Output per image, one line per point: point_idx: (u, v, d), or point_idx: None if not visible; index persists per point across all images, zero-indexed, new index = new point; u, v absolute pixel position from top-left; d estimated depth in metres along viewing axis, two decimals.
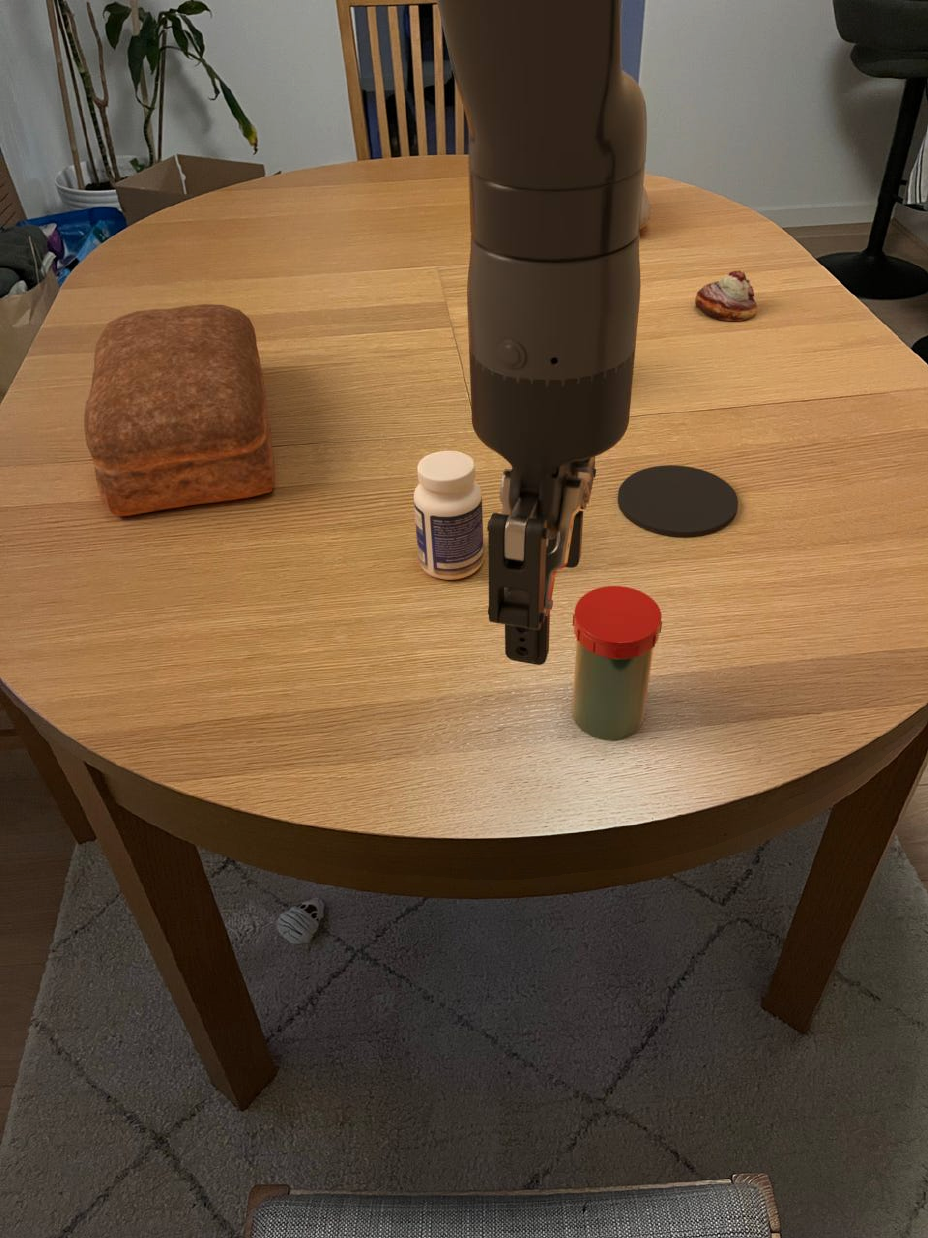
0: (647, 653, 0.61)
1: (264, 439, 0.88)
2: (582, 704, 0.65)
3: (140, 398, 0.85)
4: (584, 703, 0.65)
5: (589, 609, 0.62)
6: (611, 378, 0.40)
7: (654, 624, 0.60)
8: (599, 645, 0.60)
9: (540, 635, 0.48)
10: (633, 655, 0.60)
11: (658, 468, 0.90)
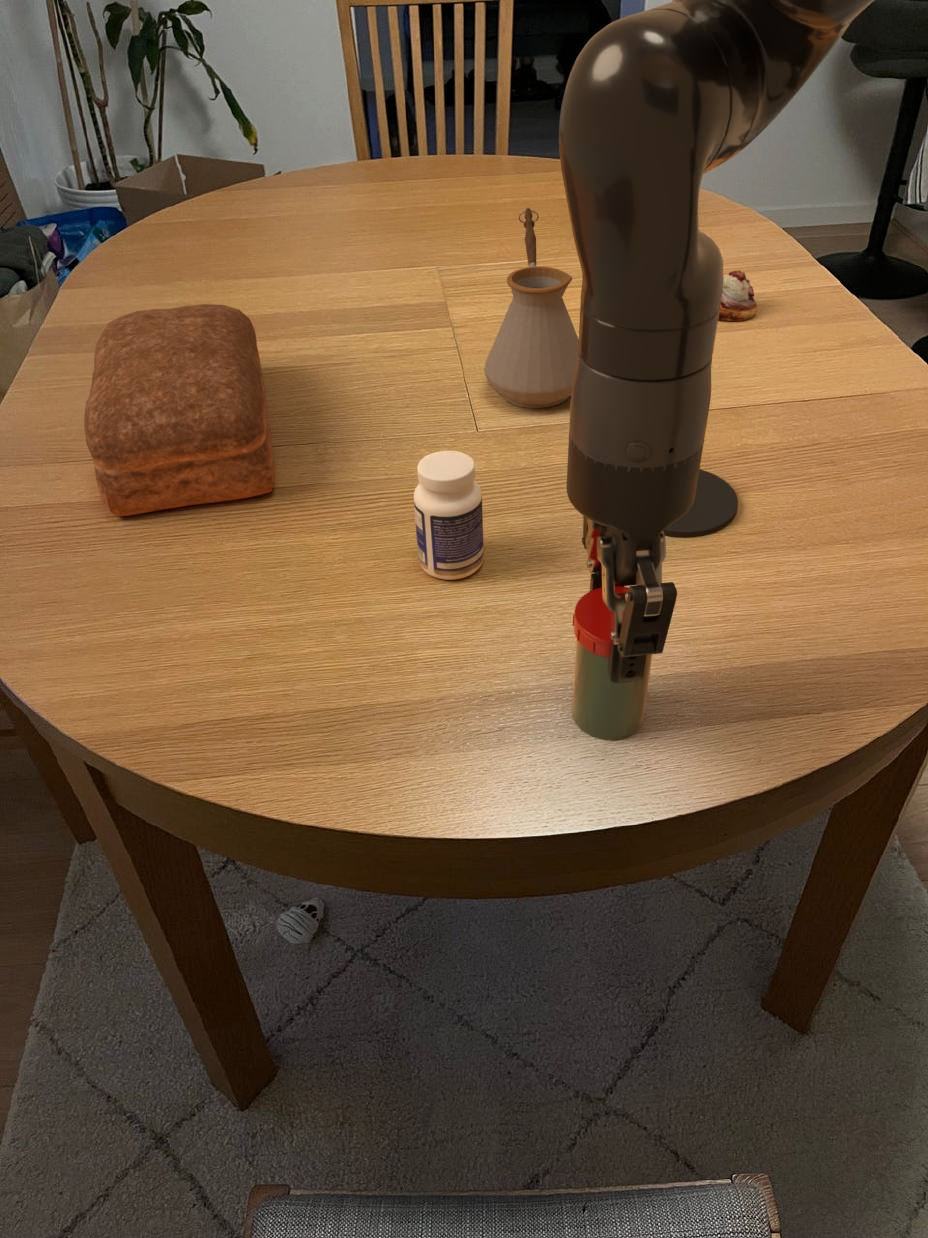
0: None
1: (264, 439, 0.88)
2: (582, 704, 0.65)
3: (140, 398, 0.85)
4: (584, 703, 0.65)
5: (589, 609, 0.62)
6: (700, 453, 0.51)
7: None
8: (599, 645, 0.60)
9: None
10: None
11: None
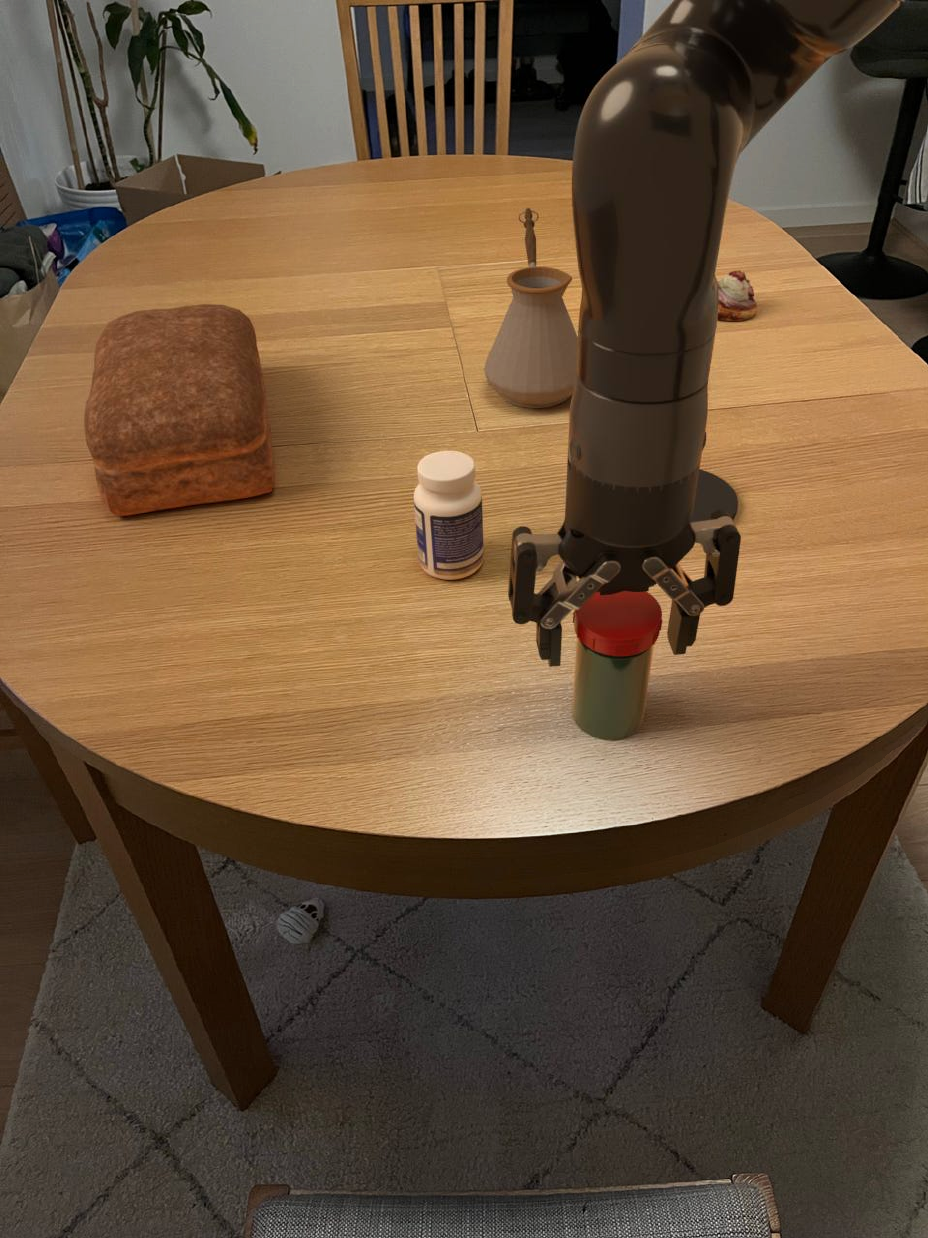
0: (647, 653, 0.61)
1: (264, 439, 0.88)
2: (582, 704, 0.65)
3: (140, 398, 0.85)
4: (584, 703, 0.65)
5: (614, 629, 0.60)
6: None
7: None
8: (657, 631, 0.60)
9: None
10: None
11: None
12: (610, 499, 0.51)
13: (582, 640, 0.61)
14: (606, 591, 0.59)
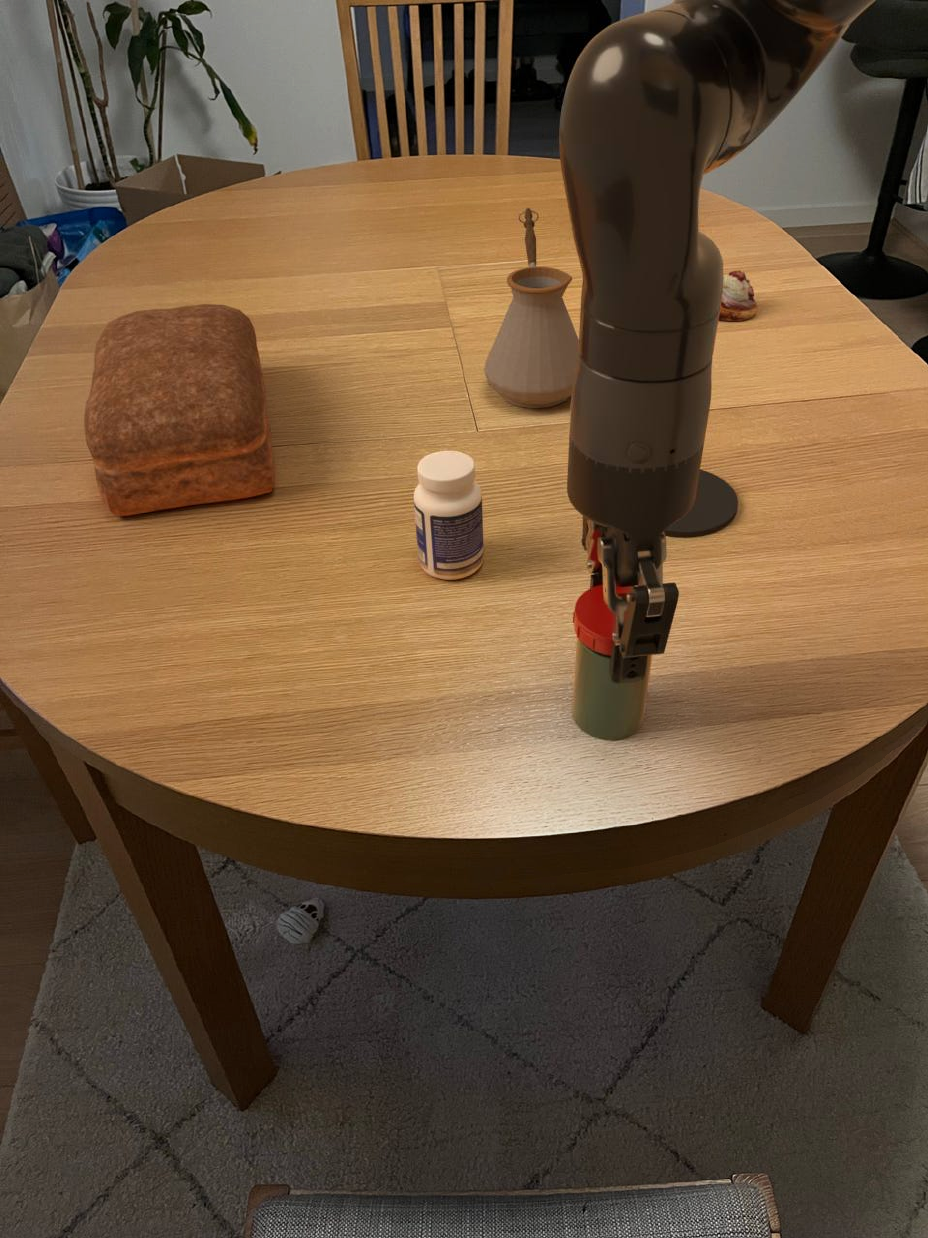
0: None
1: (264, 439, 0.88)
2: (582, 704, 0.65)
3: (140, 398, 0.85)
4: (584, 703, 0.65)
5: None
6: (700, 453, 0.51)
7: None
8: None
9: None
10: None
11: None
12: None
13: (582, 640, 0.61)
14: None
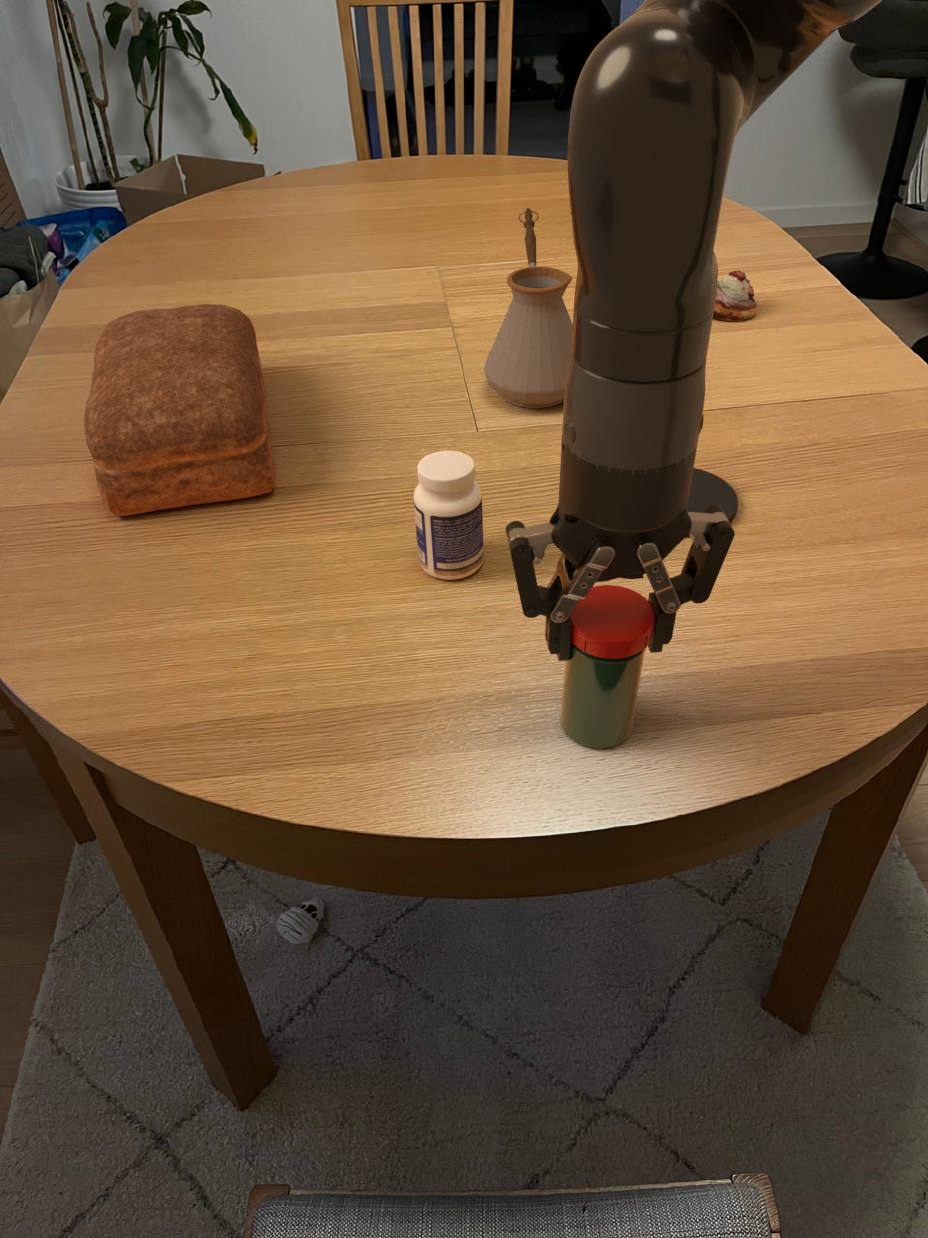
0: (642, 654, 0.61)
1: (264, 439, 0.88)
2: (576, 714, 0.64)
3: (140, 398, 0.85)
4: (579, 713, 0.63)
5: (639, 616, 0.60)
6: None
7: None
8: None
9: None
10: None
11: None
12: (605, 482, 0.50)
13: (635, 652, 0.60)
14: (600, 578, 0.57)
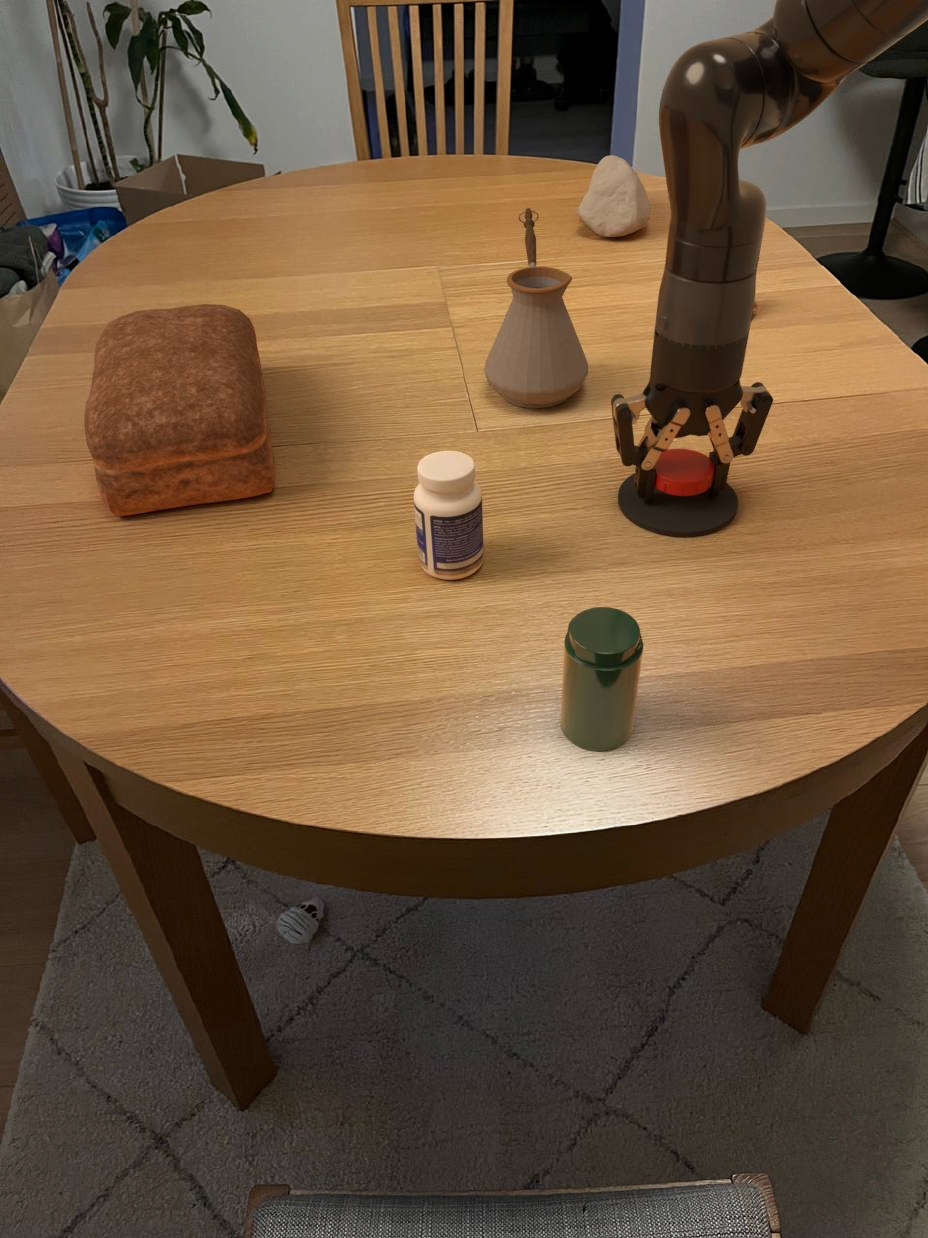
0: (639, 659, 0.61)
1: (264, 439, 0.88)
2: (576, 719, 0.64)
3: (140, 398, 0.85)
4: (578, 718, 0.64)
5: (703, 467, 0.84)
6: None
7: None
8: None
9: None
10: None
11: None
12: (688, 355, 0.74)
13: (701, 491, 0.83)
14: (677, 435, 0.81)
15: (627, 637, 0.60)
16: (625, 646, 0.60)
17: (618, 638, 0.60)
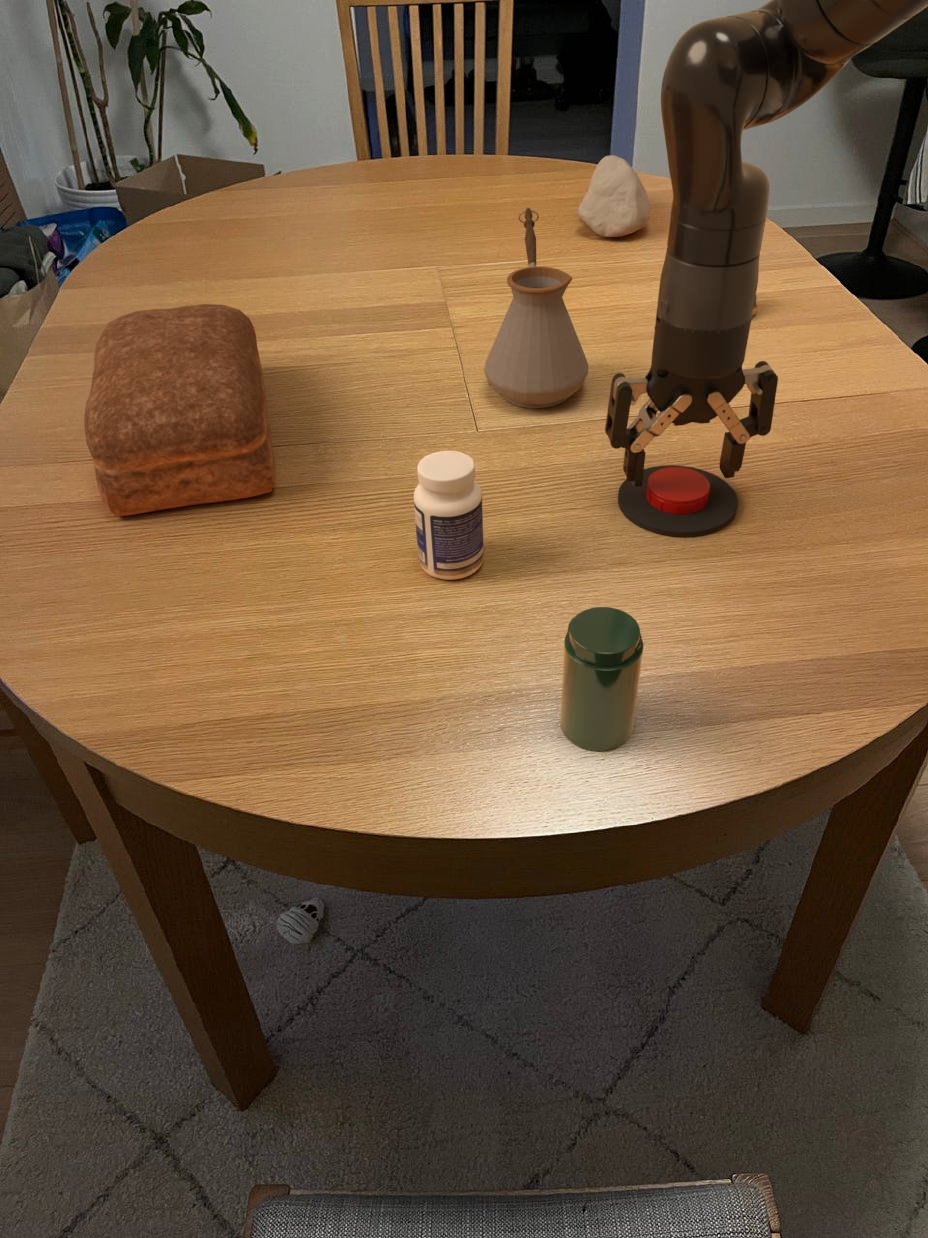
0: (639, 659, 0.61)
1: (264, 439, 0.88)
2: (576, 719, 0.64)
3: (140, 398, 0.85)
4: (578, 718, 0.64)
5: (699, 485, 0.85)
6: None
7: (653, 476, 0.87)
8: None
9: None
10: None
11: (658, 468, 0.90)
12: (690, 341, 0.73)
13: (697, 509, 0.85)
14: (679, 422, 0.80)
15: (627, 637, 0.60)
16: (625, 646, 0.60)
17: (618, 638, 0.60)
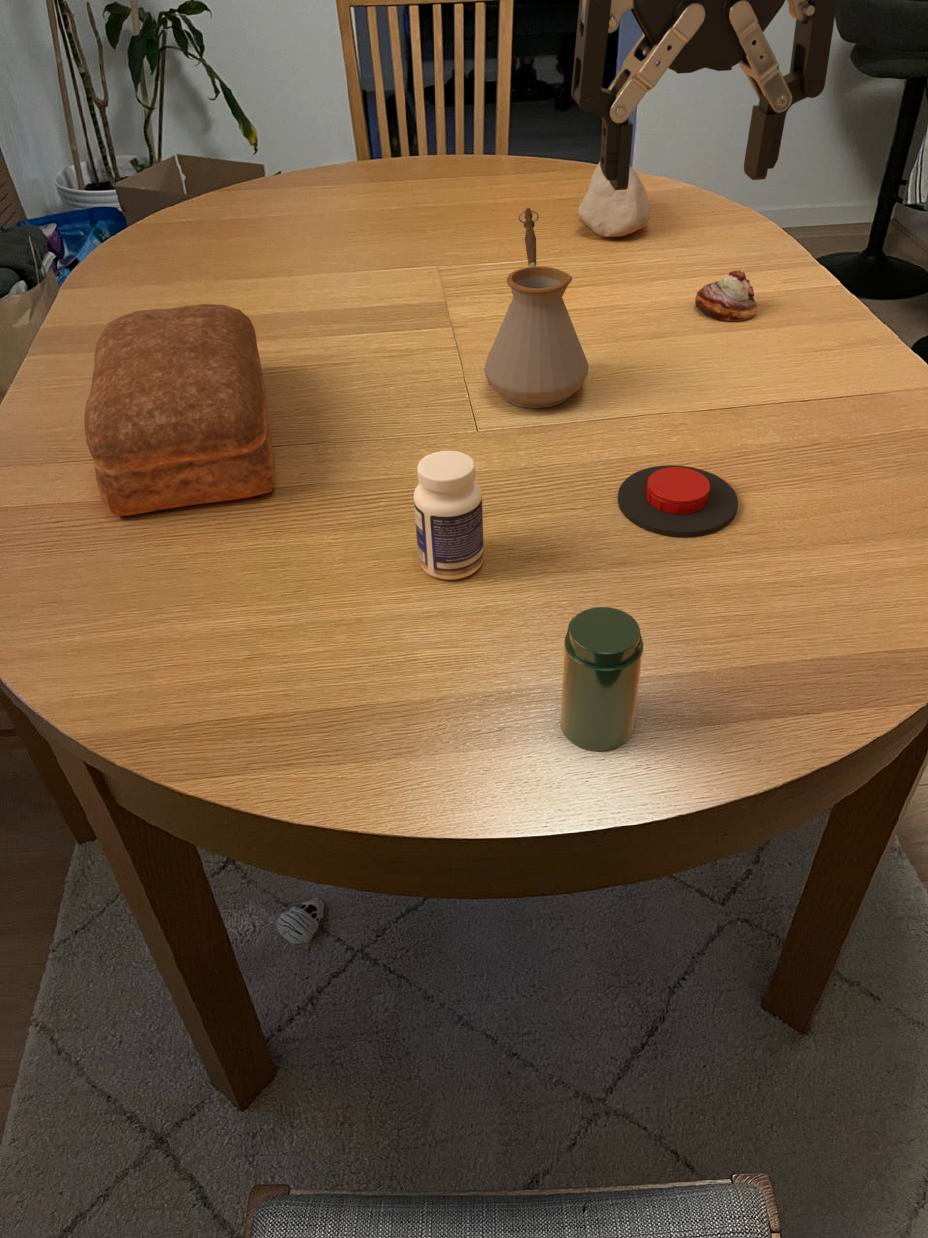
0: (639, 659, 0.61)
1: (264, 439, 0.88)
2: (576, 719, 0.64)
3: (140, 398, 0.85)
4: (578, 718, 0.64)
5: (699, 485, 0.85)
6: None
7: (653, 476, 0.87)
8: None
9: None
10: None
11: (658, 468, 0.90)
12: None
13: (697, 509, 0.85)
14: (684, 68, 0.52)
15: (627, 637, 0.60)
16: (625, 646, 0.60)
17: (618, 638, 0.60)
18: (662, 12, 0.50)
